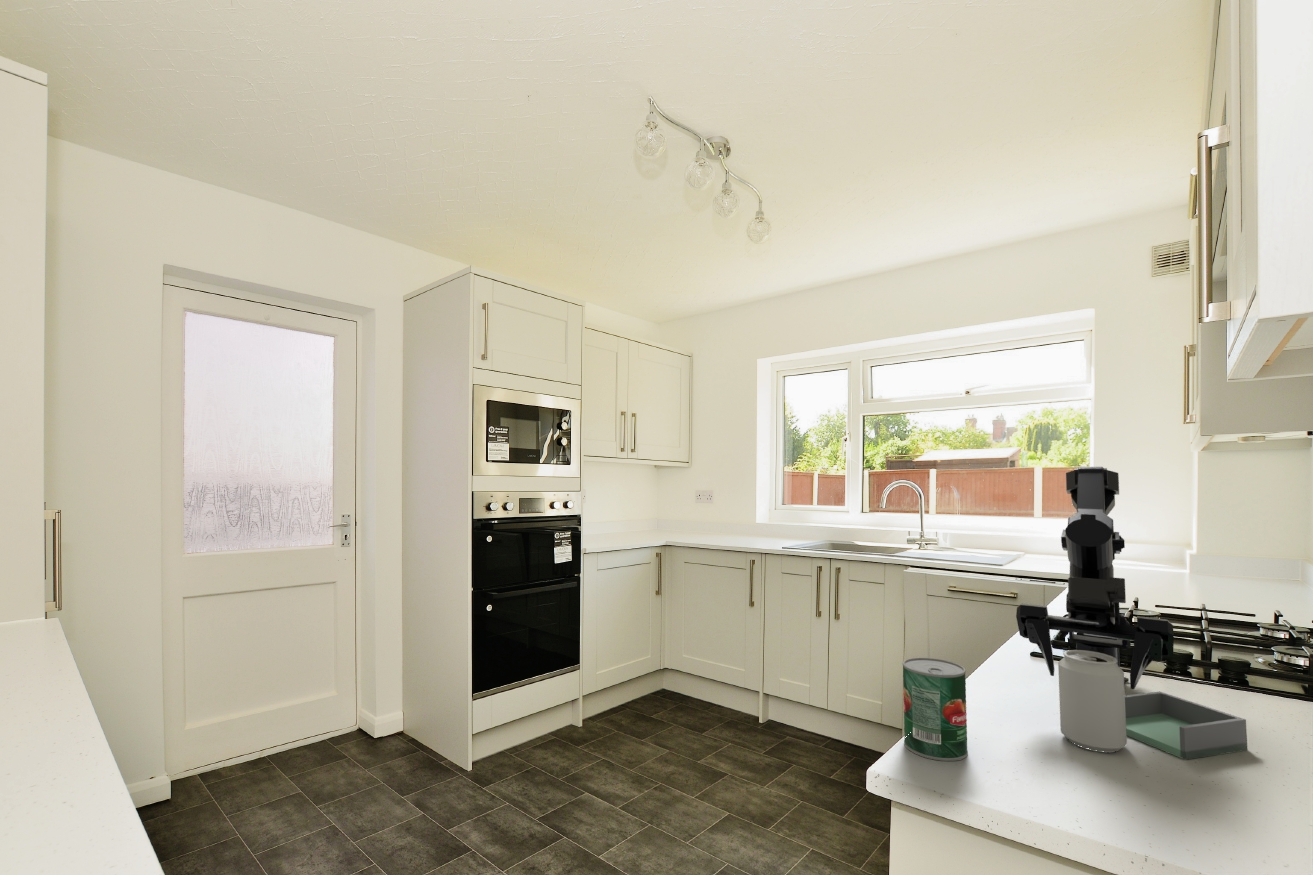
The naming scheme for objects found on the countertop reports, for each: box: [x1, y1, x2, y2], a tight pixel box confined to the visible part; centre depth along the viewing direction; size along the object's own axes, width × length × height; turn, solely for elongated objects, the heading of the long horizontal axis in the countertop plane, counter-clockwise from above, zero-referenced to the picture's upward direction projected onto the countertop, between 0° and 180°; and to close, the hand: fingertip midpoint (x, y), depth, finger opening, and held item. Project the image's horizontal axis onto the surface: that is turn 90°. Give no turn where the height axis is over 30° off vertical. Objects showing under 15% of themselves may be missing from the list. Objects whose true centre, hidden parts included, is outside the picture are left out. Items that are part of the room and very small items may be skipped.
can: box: [1057, 649, 1128, 753], centre depth 86 cm, size 8×8×12 cm
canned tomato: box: [901, 657, 969, 762], centre depth 85 cm, size 8×8×11 cm
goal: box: [1125, 691, 1248, 761], centre depth 88 cm, size 11×11×4 cm
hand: (1090, 680), depth 87 cm, fingers open, 9 cm apart
